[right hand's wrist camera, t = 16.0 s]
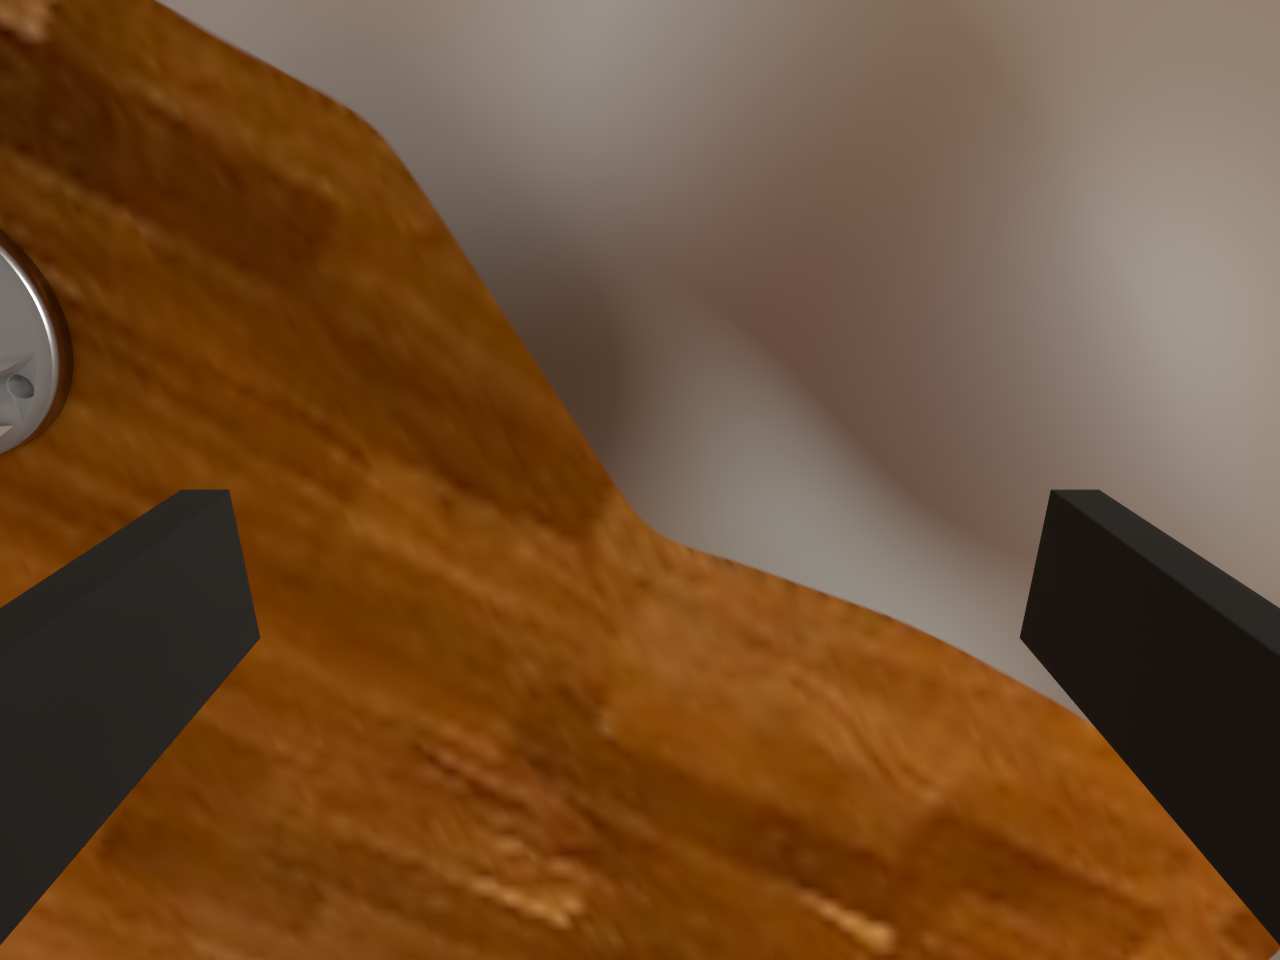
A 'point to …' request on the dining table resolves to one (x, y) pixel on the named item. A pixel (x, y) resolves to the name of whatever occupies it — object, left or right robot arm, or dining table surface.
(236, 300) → the dining table surface
